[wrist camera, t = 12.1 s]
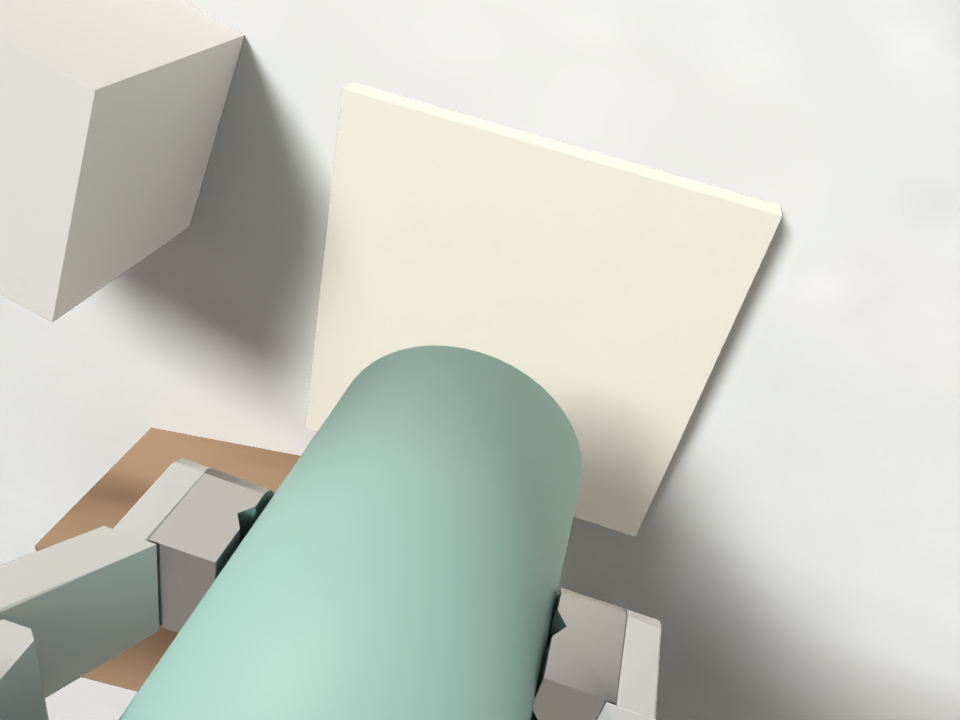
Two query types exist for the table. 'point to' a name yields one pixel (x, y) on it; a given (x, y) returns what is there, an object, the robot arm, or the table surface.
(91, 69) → the grey cube
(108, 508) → the walnut cube
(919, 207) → the table surface
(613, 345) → the coaster
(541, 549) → the teal cylinder
